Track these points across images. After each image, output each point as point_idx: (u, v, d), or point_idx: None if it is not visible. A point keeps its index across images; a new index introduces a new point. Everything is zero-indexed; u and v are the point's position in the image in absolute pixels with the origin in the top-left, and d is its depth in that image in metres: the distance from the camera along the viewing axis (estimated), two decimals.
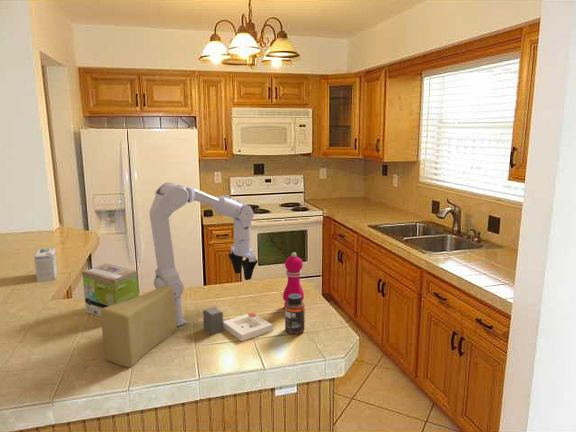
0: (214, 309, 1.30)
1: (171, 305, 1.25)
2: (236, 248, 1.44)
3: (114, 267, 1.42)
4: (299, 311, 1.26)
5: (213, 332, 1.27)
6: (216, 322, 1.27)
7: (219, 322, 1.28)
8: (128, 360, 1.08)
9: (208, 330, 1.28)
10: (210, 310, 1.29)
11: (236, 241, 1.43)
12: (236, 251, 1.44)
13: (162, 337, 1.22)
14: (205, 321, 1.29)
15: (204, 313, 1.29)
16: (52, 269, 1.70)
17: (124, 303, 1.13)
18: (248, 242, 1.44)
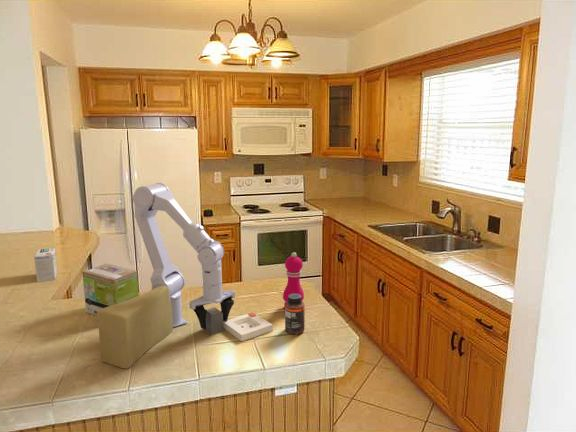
0: (214, 309, 1.30)
1: (167, 305, 1.24)
2: None
3: (114, 267, 1.42)
4: (299, 311, 1.26)
5: (213, 332, 1.27)
6: (216, 322, 1.27)
7: (219, 322, 1.28)
8: (125, 362, 1.08)
9: (208, 330, 1.28)
10: (210, 310, 1.29)
11: None
12: None
13: (158, 338, 1.21)
14: None
15: None
16: (52, 269, 1.70)
17: (121, 304, 1.13)
18: (205, 288, 1.25)
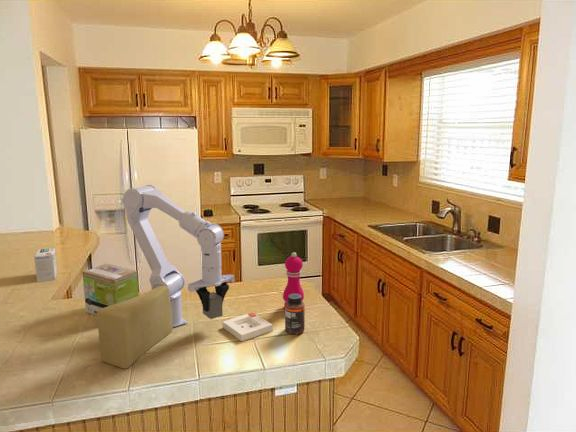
0: (213, 293, 1.29)
1: (167, 305, 1.24)
2: None
3: (114, 267, 1.42)
4: (299, 311, 1.26)
5: (212, 316, 1.26)
6: (215, 306, 1.26)
7: (218, 306, 1.27)
8: (125, 361, 1.08)
9: (207, 314, 1.27)
10: None
11: None
12: None
13: (158, 338, 1.21)
14: None
15: None
16: (52, 269, 1.70)
17: (120, 304, 1.13)
18: (205, 271, 1.24)
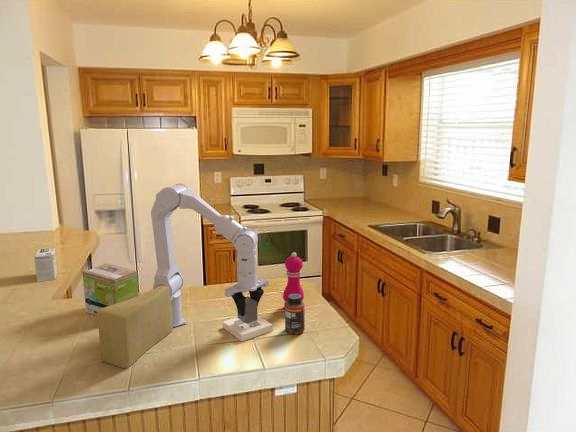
0: (248, 298, 1.29)
1: (167, 305, 1.25)
2: None
3: (114, 267, 1.42)
4: (299, 311, 1.26)
5: (248, 321, 1.27)
6: (251, 311, 1.27)
7: (253, 311, 1.28)
8: (125, 361, 1.08)
9: (242, 319, 1.28)
10: None
11: None
12: None
13: (158, 338, 1.21)
14: None
15: None
16: (52, 269, 1.70)
17: (120, 304, 1.13)
18: (240, 276, 1.24)
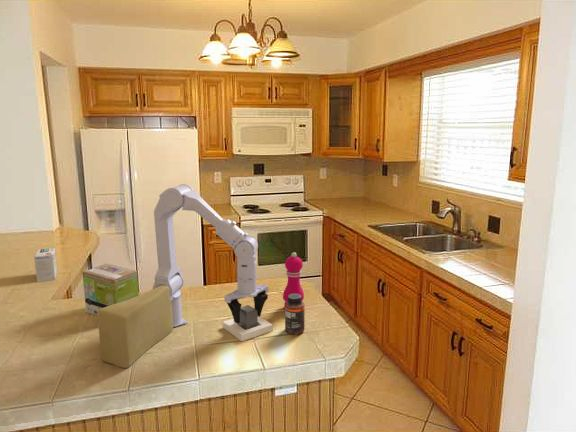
0: (248, 307, 1.30)
1: (167, 305, 1.25)
2: None
3: (114, 267, 1.42)
4: (299, 311, 1.26)
5: None
6: (251, 319, 1.28)
7: (254, 320, 1.28)
8: (125, 361, 1.08)
9: (243, 328, 1.29)
10: (244, 308, 1.29)
11: None
12: None
13: (158, 338, 1.22)
14: None
15: None
16: (52, 269, 1.70)
17: (121, 304, 1.13)
18: (241, 282, 1.25)
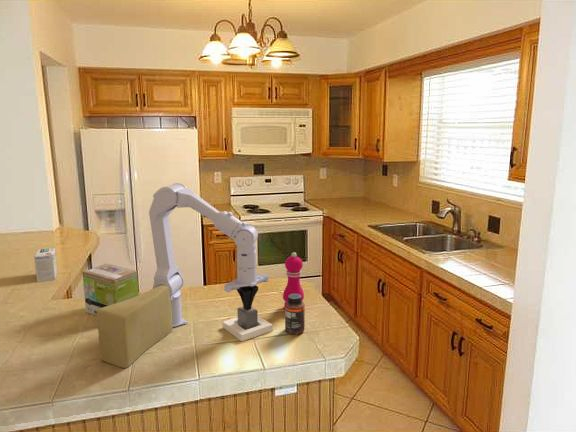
0: None
1: (166, 305, 1.25)
2: None
3: (114, 267, 1.42)
4: (299, 311, 1.26)
5: None
6: (251, 319, 1.28)
7: (254, 320, 1.28)
8: (125, 361, 1.08)
9: (243, 328, 1.29)
10: None
11: None
12: None
13: (158, 338, 1.22)
14: (239, 318, 1.30)
15: (238, 311, 1.29)
16: (52, 269, 1.70)
17: (120, 304, 1.13)
18: (240, 271, 1.24)
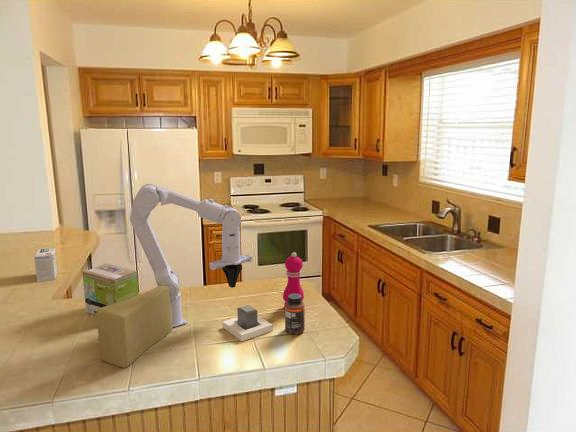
0: (248, 307, 1.30)
1: (166, 305, 1.25)
2: None
3: (114, 267, 1.42)
4: (299, 311, 1.26)
5: None
6: (251, 319, 1.28)
7: (254, 320, 1.28)
8: (124, 361, 1.08)
9: (243, 328, 1.29)
10: (244, 308, 1.29)
11: None
12: None
13: (157, 338, 1.22)
14: (239, 318, 1.30)
15: (238, 311, 1.29)
16: (52, 269, 1.70)
17: (120, 303, 1.13)
18: (225, 250, 1.32)
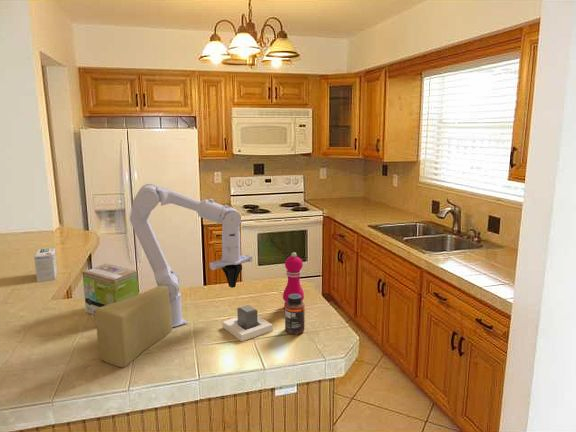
0: (248, 307, 1.30)
1: (166, 305, 1.25)
2: None
3: (114, 267, 1.42)
4: (299, 311, 1.26)
5: None
6: (251, 319, 1.28)
7: (254, 320, 1.28)
8: (122, 360, 1.08)
9: (243, 328, 1.29)
10: (244, 308, 1.29)
11: None
12: None
13: (157, 338, 1.22)
14: (239, 318, 1.30)
15: (238, 311, 1.29)
16: (52, 269, 1.70)
17: (119, 303, 1.13)
18: (225, 250, 1.32)
